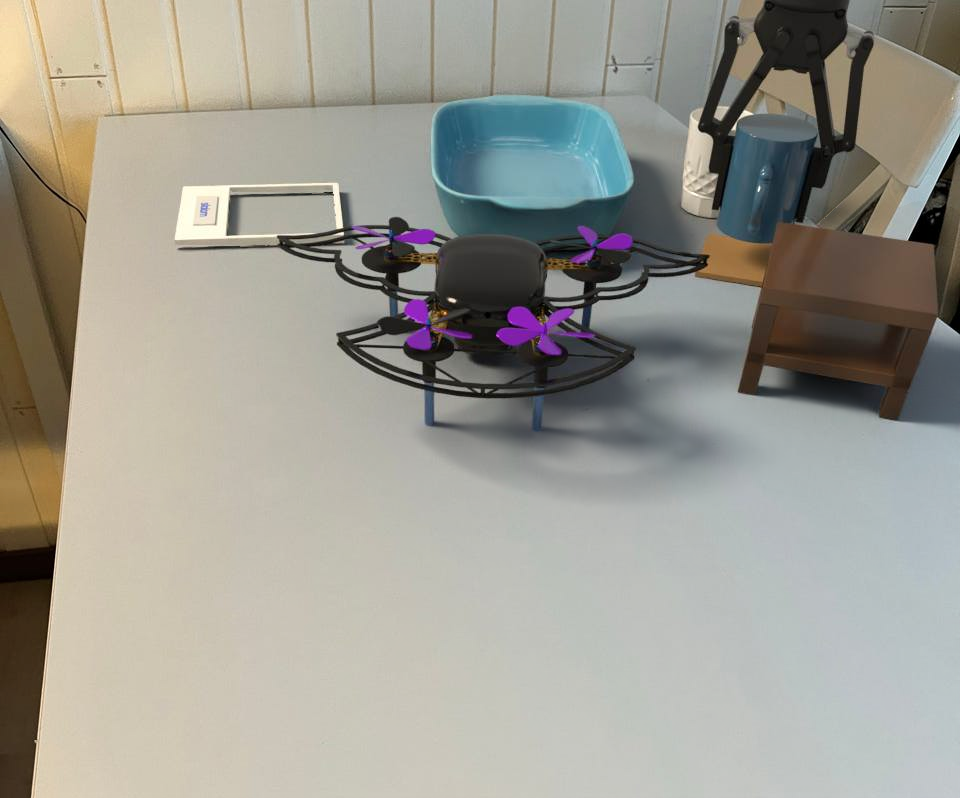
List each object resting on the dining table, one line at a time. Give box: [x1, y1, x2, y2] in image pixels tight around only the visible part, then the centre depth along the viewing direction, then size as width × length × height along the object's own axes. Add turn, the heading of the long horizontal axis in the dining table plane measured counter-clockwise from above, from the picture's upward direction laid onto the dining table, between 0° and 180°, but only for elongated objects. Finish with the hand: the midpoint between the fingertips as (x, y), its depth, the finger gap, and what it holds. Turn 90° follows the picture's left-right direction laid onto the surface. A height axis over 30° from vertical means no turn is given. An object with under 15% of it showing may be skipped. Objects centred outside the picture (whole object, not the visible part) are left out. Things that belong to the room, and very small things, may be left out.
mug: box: [716, 113, 819, 244], centre depth 101 cm, size 8×11×10 cm
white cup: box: [680, 105, 754, 219], centre depth 115 cm, size 8×8×10 cm
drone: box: [277, 216, 710, 432], centre depth 86 cm, size 40×10×28 cm
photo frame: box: [174, 182, 345, 247], centre depth 112 cm, size 15×1×18 cm
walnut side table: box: [737, 222, 939, 421], centre depth 89 cm, size 14×14×10 cm
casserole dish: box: [430, 94, 635, 251], centre depth 115 cm, size 37×22×7 cm, turn 2°
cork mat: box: [694, 233, 772, 288], centre depth 108 cm, size 10×10×1 cm
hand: (758, 211), depth 104 cm, fingers closed on mug, 8 cm apart
